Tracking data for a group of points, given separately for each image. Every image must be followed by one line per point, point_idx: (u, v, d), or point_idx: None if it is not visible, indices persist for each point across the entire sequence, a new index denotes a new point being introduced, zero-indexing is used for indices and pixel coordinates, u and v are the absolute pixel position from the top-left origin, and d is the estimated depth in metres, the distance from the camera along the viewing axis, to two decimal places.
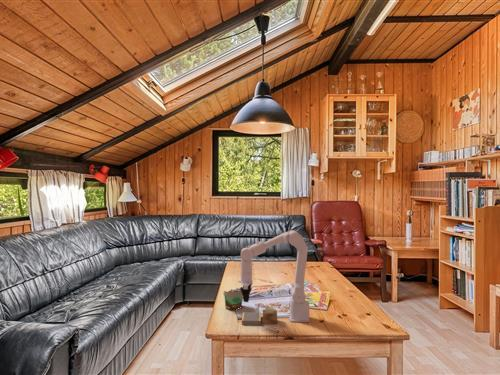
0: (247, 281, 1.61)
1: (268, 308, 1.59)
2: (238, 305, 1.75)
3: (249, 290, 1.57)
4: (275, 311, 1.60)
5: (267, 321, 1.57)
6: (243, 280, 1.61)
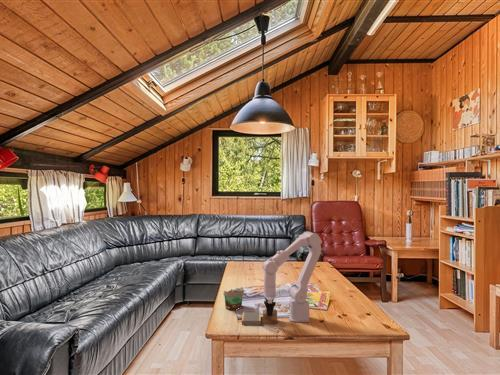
0: (271, 295, 1.57)
1: None
2: (238, 305, 1.75)
3: (273, 304, 1.54)
4: (275, 311, 1.60)
5: (267, 321, 1.57)
6: (267, 293, 1.57)
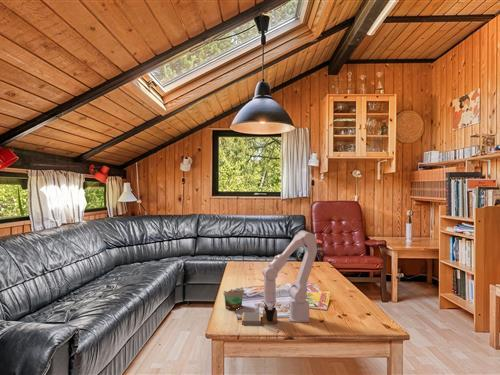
0: (271, 301, 1.57)
1: None
2: (238, 305, 1.75)
3: (273, 310, 1.55)
4: (275, 311, 1.60)
5: (267, 321, 1.57)
6: (267, 300, 1.57)
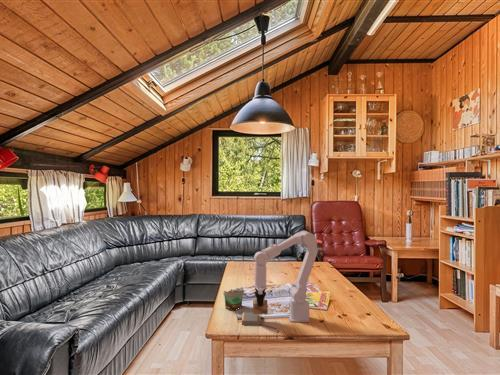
0: (261, 286, 1.57)
1: None
2: (238, 305, 1.75)
3: (264, 294, 1.55)
4: (266, 301, 1.61)
5: (258, 311, 1.58)
6: (257, 285, 1.58)
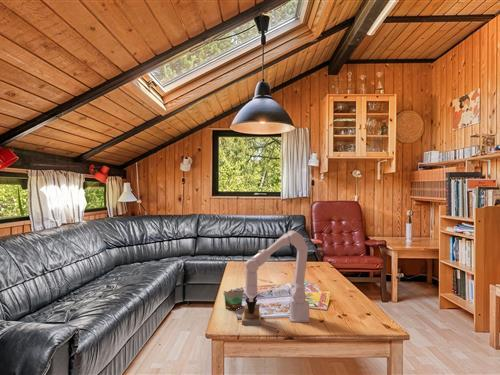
0: (252, 293, 1.58)
1: None
2: (238, 305, 1.75)
3: (254, 302, 1.56)
4: (257, 306, 1.62)
5: (249, 315, 1.59)
6: (248, 292, 1.59)
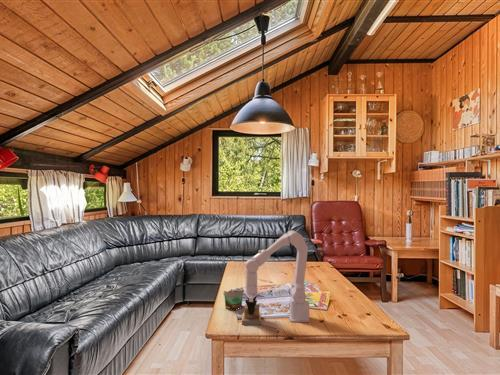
0: (252, 293, 1.58)
1: None
2: (238, 305, 1.75)
3: (254, 303, 1.55)
4: (257, 306, 1.62)
5: (249, 315, 1.59)
6: (248, 292, 1.59)
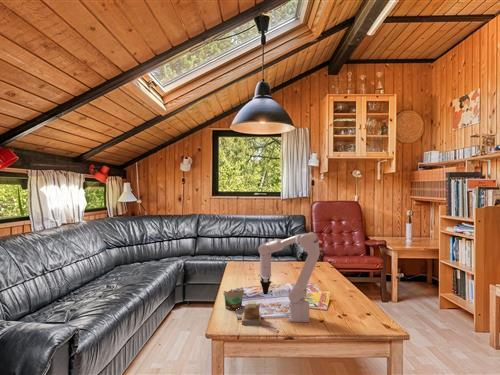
0: (266, 275, 1.70)
1: (250, 303, 1.60)
2: (238, 305, 1.75)
3: (269, 283, 1.67)
4: (257, 306, 1.62)
5: (249, 315, 1.59)
6: (263, 274, 1.70)
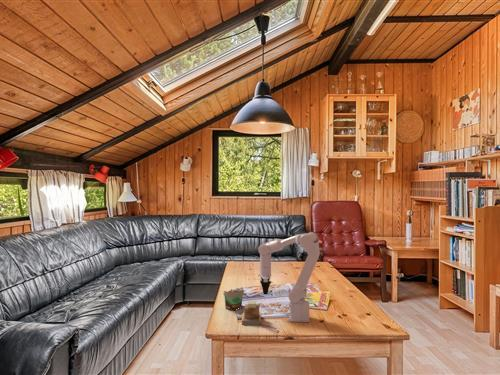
0: (266, 275, 1.70)
1: (250, 303, 1.60)
2: (238, 305, 1.75)
3: (269, 283, 1.67)
4: (257, 306, 1.62)
5: (249, 315, 1.59)
6: (263, 274, 1.70)
